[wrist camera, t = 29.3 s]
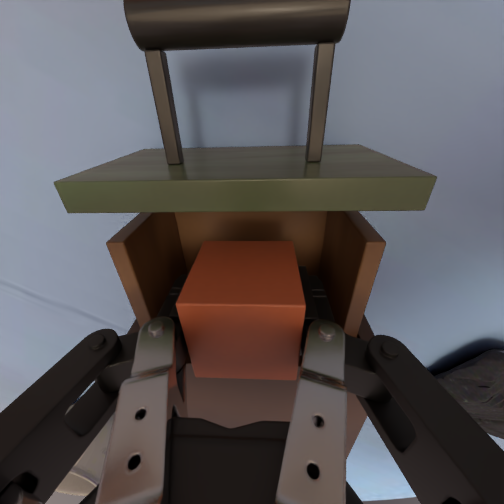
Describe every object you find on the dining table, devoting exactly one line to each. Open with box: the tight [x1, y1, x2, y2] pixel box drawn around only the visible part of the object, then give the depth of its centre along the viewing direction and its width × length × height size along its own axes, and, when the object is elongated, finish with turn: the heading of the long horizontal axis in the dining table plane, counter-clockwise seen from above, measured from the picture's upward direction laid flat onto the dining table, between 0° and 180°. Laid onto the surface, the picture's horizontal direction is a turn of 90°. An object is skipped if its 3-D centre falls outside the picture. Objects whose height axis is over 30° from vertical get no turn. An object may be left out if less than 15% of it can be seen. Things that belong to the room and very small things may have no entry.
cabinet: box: [127, 315, 374, 459], centre depth 20 cm, size 16×14×9 cm
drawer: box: [54, 0, 437, 337], centre depth 14 cm, size 20×13×7 cm, turn 2°
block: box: [176, 241, 306, 380], centre depth 11 cm, size 4×4×4 cm
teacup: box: [55, 403, 114, 496], centre depth 32 cm, size 14×11×8 cm
